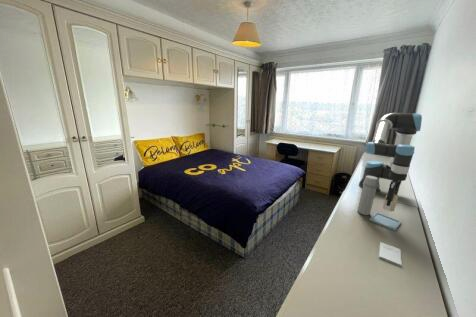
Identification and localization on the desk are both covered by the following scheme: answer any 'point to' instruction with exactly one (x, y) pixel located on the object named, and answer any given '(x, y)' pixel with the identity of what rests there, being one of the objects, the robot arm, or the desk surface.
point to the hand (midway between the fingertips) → (388, 208)
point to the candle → (392, 202)
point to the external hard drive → (390, 254)
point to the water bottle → (367, 195)
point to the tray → (385, 221)
